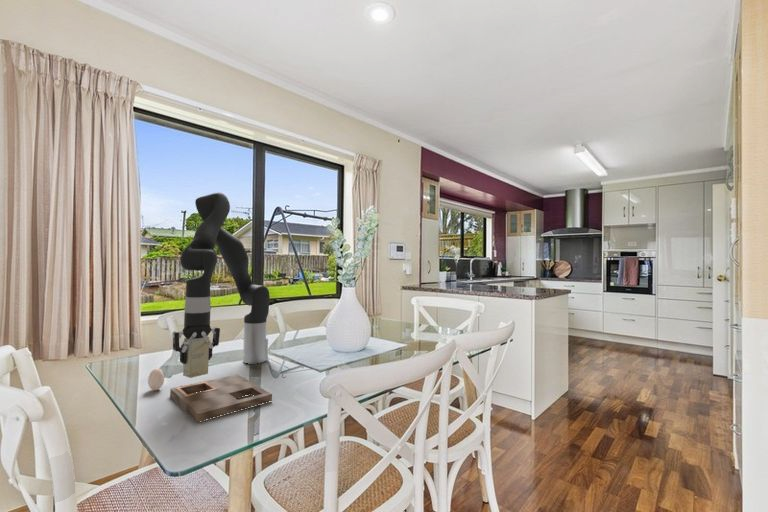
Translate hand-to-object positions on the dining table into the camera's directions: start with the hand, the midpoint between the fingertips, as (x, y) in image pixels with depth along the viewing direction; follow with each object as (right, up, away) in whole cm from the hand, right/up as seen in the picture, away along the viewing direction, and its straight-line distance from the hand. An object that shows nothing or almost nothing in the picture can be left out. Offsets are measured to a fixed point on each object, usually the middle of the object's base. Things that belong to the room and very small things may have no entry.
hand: (196, 361), depth 119 cm
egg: (-16, -11, +5) cm, 20 cm away
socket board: (+9, -12, -1) cm, 15 cm away
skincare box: (0, -5, 0) cm, 5 cm away
